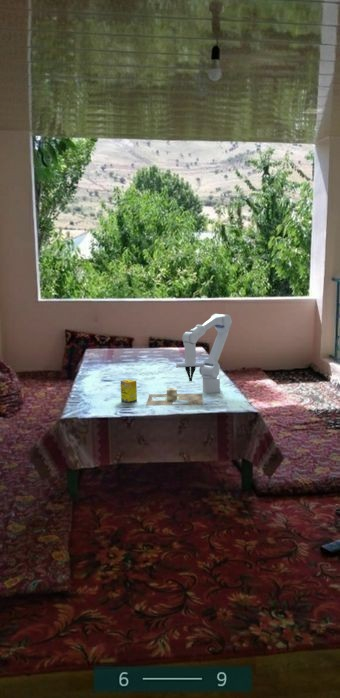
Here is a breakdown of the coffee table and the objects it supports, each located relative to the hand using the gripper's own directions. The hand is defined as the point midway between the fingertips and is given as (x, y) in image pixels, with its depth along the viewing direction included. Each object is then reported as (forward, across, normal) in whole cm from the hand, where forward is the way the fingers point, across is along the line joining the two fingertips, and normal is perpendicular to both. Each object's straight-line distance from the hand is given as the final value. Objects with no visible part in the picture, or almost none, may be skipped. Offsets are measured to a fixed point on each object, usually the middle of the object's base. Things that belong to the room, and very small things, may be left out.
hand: (190, 380), depth 272 cm
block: (+8, -10, -5) cm, 14 cm away
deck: (+9, -8, -7) cm, 14 cm away
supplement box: (+10, -32, -4) cm, 34 cm away
